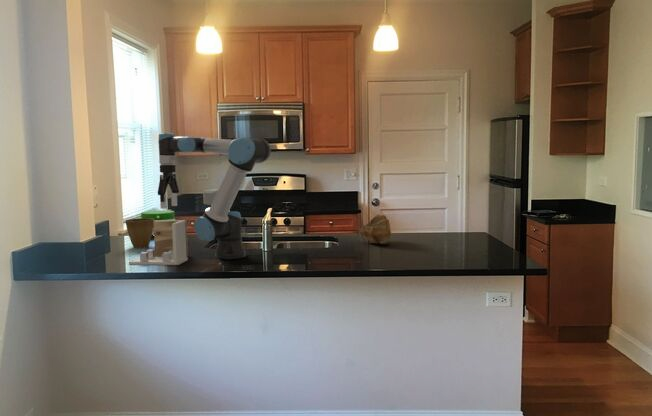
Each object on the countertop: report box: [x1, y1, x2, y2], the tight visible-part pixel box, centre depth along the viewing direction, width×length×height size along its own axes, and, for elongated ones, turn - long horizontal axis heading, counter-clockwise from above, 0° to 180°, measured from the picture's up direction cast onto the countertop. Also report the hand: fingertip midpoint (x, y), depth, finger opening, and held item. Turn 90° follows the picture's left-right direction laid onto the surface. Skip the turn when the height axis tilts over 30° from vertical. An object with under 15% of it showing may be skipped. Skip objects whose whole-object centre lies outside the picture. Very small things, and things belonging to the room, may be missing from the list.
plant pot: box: [125, 218, 154, 249], centre depth 293 cm, size 15×15×16 cm
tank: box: [136, 210, 176, 229], centre depth 326 cm, size 24×35×16 cm
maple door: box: [153, 219, 189, 257], centre depth 267 cm, size 4×16×18 cm, turn 83°
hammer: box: [202, 188, 219, 206], centre depth 317 cm, size 15×8×30 cm, turn 172°
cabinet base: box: [128, 219, 189, 266], centre depth 253 cm, size 12×24×19 cm, turn 83°
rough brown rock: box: [359, 214, 392, 245], centre depth 301 cm, size 23×17×15 cm
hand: (169, 207), depth 266 cm, fingers open, 13 cm apart
